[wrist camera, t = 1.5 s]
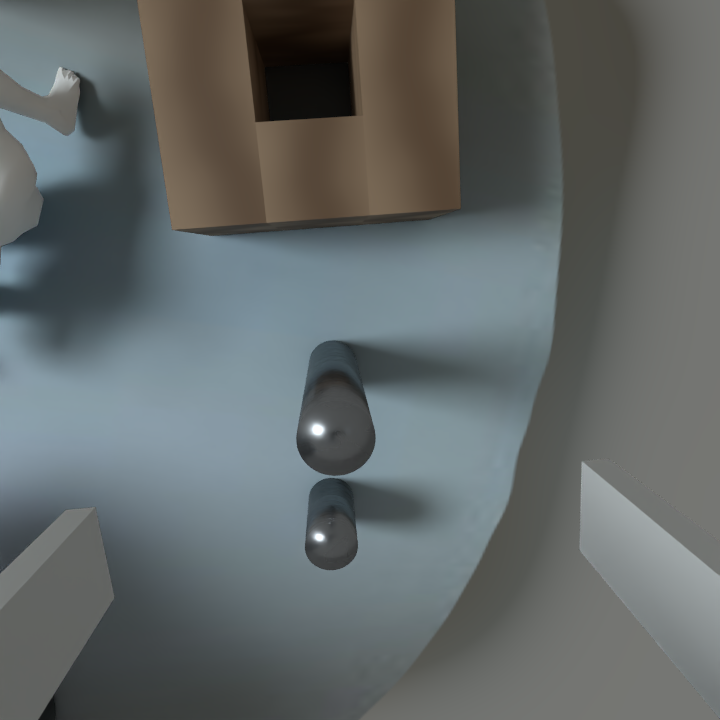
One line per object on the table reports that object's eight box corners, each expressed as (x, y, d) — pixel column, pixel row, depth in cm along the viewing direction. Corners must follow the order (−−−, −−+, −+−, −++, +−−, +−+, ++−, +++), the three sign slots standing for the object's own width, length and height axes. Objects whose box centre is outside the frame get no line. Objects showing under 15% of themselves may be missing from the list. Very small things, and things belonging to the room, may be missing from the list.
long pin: (311, 388, 34) (300, 479, 20) (307, 342, 33) (292, 404, 19) (357, 384, 34) (377, 471, 20) (354, 338, 33) (372, 397, 20)
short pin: (310, 520, 36) (307, 572, 30) (306, 480, 35) (302, 525, 29) (354, 516, 36) (359, 567, 30) (351, 476, 35) (355, 520, 30)
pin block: (211, 235, 31) (172, 229, 23) (177, -15, 28) (119, -117, 20) (428, 219, 32) (460, 208, 24) (417, -27, 29) (450, -131, 21)
